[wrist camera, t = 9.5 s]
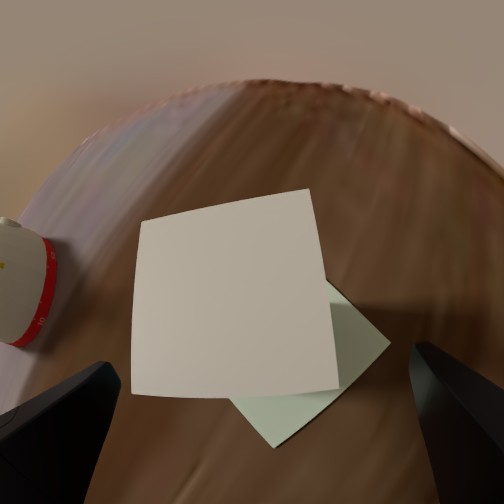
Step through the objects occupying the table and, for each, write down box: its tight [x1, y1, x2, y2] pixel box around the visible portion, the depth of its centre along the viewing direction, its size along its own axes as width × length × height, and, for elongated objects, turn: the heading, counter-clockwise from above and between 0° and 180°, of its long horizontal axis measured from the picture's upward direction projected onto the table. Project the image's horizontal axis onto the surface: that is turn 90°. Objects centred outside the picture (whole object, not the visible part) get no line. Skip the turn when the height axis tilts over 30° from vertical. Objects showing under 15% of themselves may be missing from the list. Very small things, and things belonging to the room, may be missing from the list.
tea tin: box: [131, 189, 339, 398], centre depth 12 cm, size 5×5×12 cm
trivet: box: [229, 281, 391, 448], centre depth 18 cm, size 10×10×1 cm
